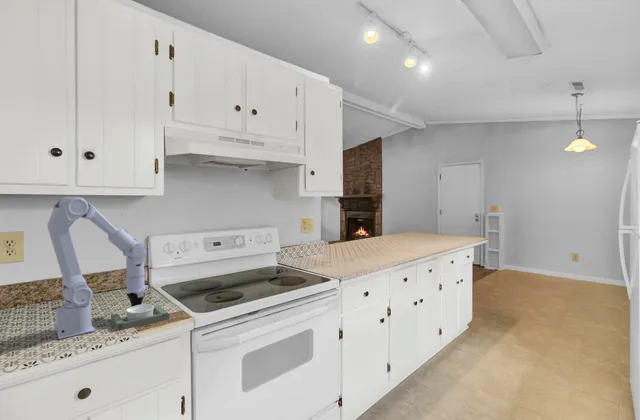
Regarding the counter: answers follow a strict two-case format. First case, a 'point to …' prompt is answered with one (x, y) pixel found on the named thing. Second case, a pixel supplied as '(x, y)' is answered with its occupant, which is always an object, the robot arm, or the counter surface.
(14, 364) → the counter surface
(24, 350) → the counter surface
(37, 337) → the counter surface
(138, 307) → the ramekin
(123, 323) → the chute bay
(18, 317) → the counter surface
